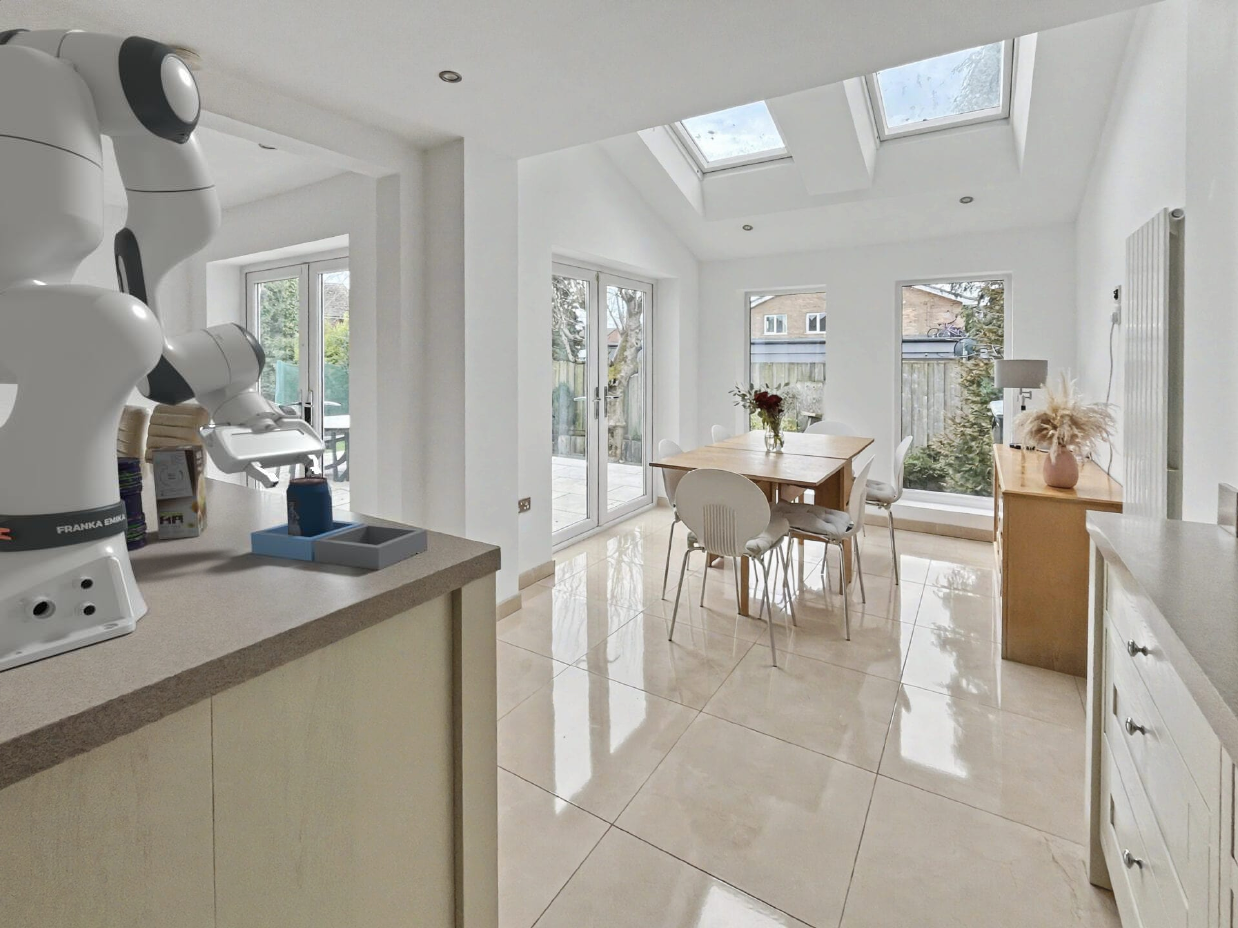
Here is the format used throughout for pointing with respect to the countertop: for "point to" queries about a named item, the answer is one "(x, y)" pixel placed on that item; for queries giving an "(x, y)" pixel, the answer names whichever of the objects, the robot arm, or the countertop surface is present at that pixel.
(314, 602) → the countertop surface
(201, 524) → the coffee box
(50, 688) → the countertop surface
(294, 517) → the soda can
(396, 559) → the frame
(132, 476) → the storage jar
